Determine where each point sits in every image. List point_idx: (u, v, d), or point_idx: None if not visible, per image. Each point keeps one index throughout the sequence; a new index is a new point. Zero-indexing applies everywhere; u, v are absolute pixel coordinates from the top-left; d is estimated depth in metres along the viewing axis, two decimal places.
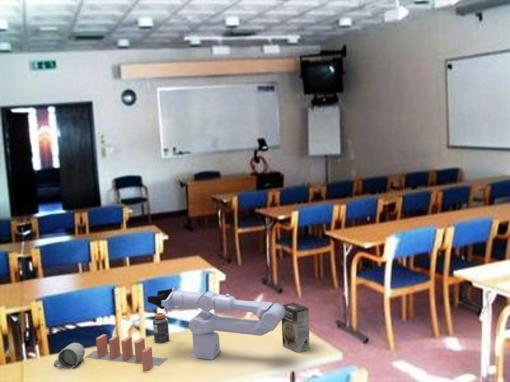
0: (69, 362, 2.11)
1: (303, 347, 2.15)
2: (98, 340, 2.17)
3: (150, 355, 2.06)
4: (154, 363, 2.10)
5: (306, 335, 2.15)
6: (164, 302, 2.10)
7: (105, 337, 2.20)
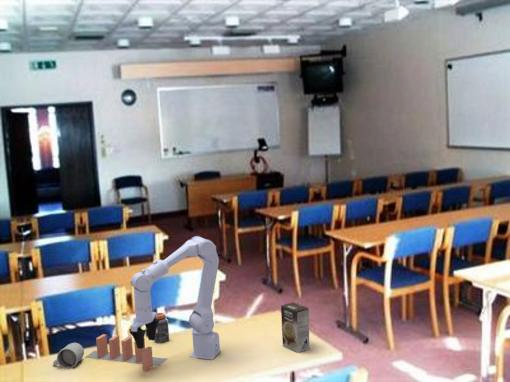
0: (68, 362, 2.11)
1: (303, 347, 2.15)
2: (98, 340, 2.17)
3: (150, 355, 2.06)
4: (154, 363, 2.10)
5: (306, 335, 2.15)
6: (132, 327, 1.97)
7: (105, 337, 2.20)
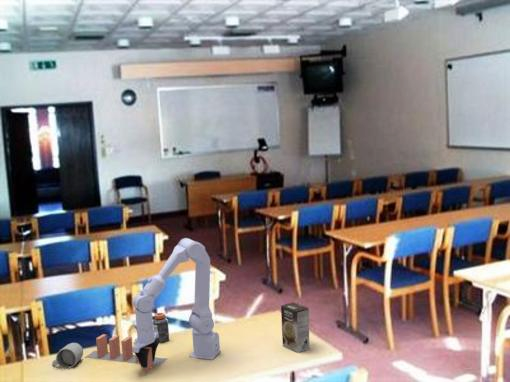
0: (67, 362, 2.11)
1: (303, 347, 2.15)
2: (98, 340, 2.17)
3: (150, 355, 2.06)
4: (154, 363, 2.10)
5: (306, 335, 2.15)
6: (133, 349, 1.98)
7: (105, 337, 2.20)
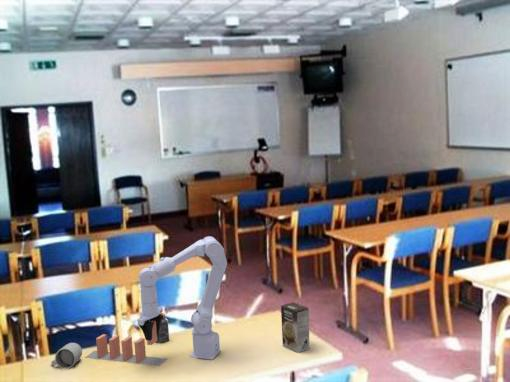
0: (66, 362, 2.11)
1: (303, 347, 2.15)
2: (98, 340, 2.17)
3: (154, 329, 2.11)
4: (154, 363, 2.10)
5: (306, 335, 2.15)
6: (138, 321, 2.03)
7: (105, 337, 2.20)
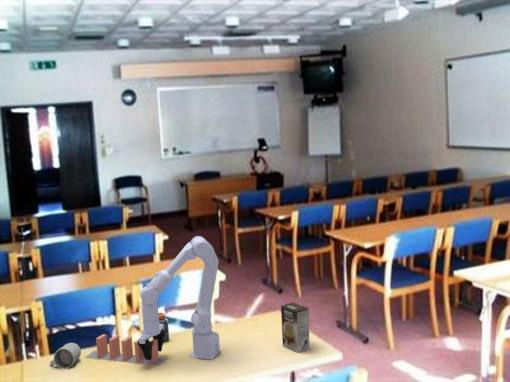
0: (65, 362, 2.11)
1: (303, 347, 2.15)
2: (98, 340, 2.17)
3: (156, 347, 2.12)
4: (154, 363, 2.10)
5: (306, 335, 2.15)
6: (140, 340, 2.04)
7: (105, 337, 2.20)
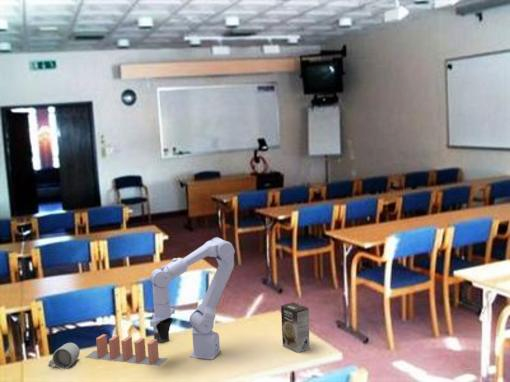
0: (64, 362, 2.11)
1: (303, 347, 2.15)
2: (98, 340, 2.17)
3: (156, 347, 2.12)
4: (154, 363, 2.10)
5: (306, 335, 2.15)
6: (151, 323, 2.01)
7: (105, 337, 2.20)
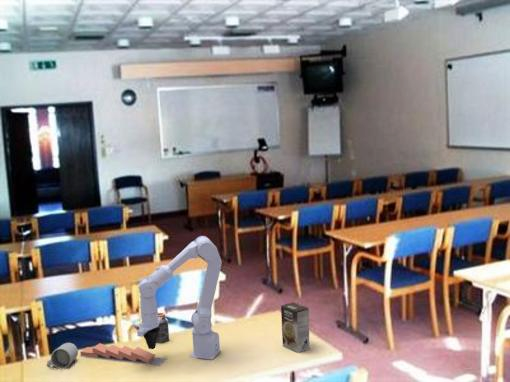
0: (62, 362, 2.11)
1: (303, 347, 2.15)
2: (82, 353, 2.20)
3: (142, 351, 2.14)
4: (154, 363, 2.10)
5: (306, 335, 2.15)
6: (138, 333, 2.04)
7: (88, 348, 2.23)
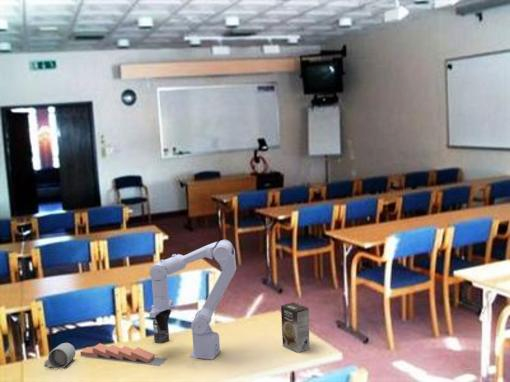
0: (59, 362, 2.12)
1: (303, 347, 2.15)
2: (82, 353, 2.20)
3: (142, 351, 2.14)
4: (154, 363, 2.10)
5: (306, 335, 2.15)
6: (150, 314, 2.09)
7: (88, 348, 2.23)
